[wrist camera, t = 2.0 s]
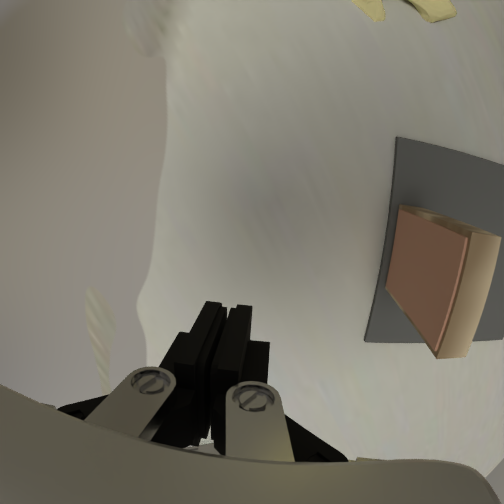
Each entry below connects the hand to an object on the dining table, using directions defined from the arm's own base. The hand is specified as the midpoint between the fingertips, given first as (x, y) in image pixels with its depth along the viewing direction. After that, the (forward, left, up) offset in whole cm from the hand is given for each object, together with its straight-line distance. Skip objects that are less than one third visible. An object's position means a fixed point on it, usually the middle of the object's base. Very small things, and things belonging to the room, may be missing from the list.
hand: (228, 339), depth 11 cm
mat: (-21, 0, -17) cm, 27 cm away
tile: (-13, 0, -17) cm, 21 cm away
